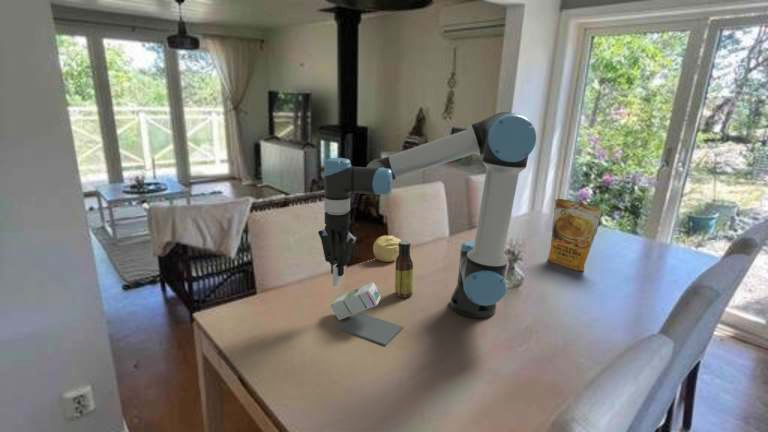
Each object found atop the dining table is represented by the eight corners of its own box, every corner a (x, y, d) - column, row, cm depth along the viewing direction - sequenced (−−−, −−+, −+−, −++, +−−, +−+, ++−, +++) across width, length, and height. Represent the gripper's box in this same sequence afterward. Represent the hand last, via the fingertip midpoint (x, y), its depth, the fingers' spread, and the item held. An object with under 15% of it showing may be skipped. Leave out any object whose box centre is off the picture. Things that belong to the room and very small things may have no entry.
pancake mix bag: (549, 256, 186) (559, 196, 178) (591, 270, 172) (604, 206, 164) (541, 259, 182) (551, 198, 174) (584, 274, 168) (597, 209, 160)
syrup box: (338, 321, 127) (378, 306, 122) (329, 305, 126) (368, 290, 121) (344, 311, 132) (382, 297, 127) (335, 296, 131) (373, 281, 126)
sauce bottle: (414, 292, 147) (418, 241, 141) (408, 300, 141) (411, 246, 136) (398, 288, 149) (400, 238, 144) (391, 296, 144) (393, 243, 138)
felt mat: (403, 328, 124) (403, 326, 124) (385, 346, 115) (385, 344, 115) (359, 313, 132) (359, 311, 132) (339, 329, 123) (339, 327, 122)
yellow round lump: (379, 266, 168) (380, 241, 165) (369, 255, 179) (369, 232, 176) (404, 262, 173) (405, 238, 170) (392, 252, 183) (393, 229, 180)
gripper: (362, 212, 120) (361, 284, 126) (327, 205, 126) (328, 274, 132) (348, 218, 113) (347, 294, 120) (311, 210, 119) (313, 283, 126)
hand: (337, 284), depth 126 cm, fingers closed
